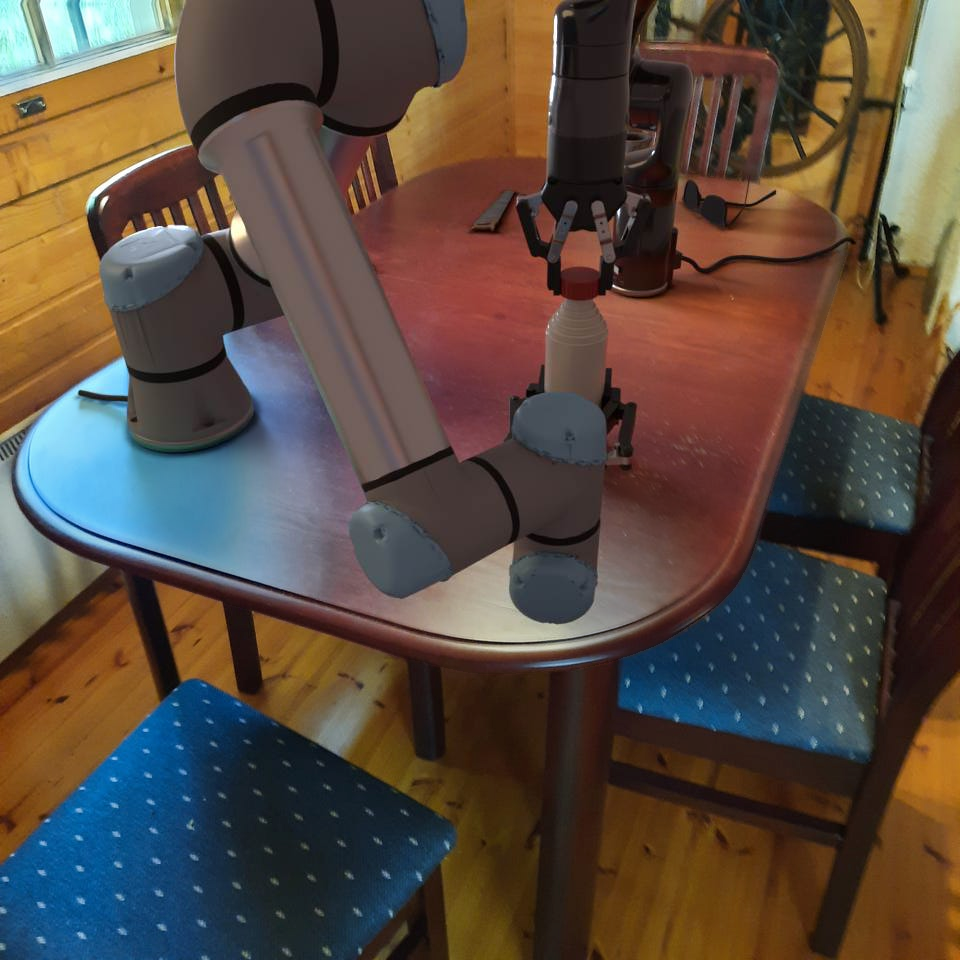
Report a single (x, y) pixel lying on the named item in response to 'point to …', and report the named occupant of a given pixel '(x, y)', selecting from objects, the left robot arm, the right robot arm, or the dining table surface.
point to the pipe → (637, 141)
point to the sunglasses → (714, 204)
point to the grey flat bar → (493, 213)
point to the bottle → (576, 351)
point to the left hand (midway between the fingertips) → (576, 376)
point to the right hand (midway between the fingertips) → (578, 292)
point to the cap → (579, 283)
